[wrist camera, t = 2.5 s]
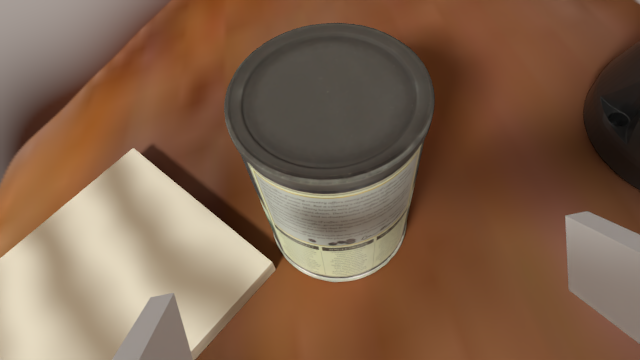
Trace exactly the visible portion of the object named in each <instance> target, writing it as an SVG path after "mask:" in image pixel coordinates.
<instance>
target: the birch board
mask: <svg viewBox="0 0 640 360" xmlns="http://www.w3.org/2000/svg"><path fill="white" fill-rule="evenodd" d="M275 270H276V269H275V267H274V265H273V263H272V262H271V261H270V260H269V259H268V258H267V257H265V256H264V255H263V254H262V253H260V252H259V251H258V250H257V249H256V248H254V247H253V246H252V245H251V244H249V243H248V242H247V241H246V240H245V239H243V238H242V237H241V236H240V235H239V234H237V233H236V232H235V231H234V230H232V229H231V228H230V227H229V226H228V225H226V224H225V223H224V222H223V221H221V220H220V219H219V218H218V217H217V216H215V215H214V214H213V213H212V212H211V211H209V210H208V209H207V208H206V207H204V206H203V205H202V204H201V203H200V202H198V201H197V200H196V199H195V198H193V197H192V196H191V195H190V194H189V193H187V192H186V191H185V190H184V189H182V188H181V187H180V186H179V185H178V184H176V183H175V182H174V181H173V180H172V179H170V178H169V177H168V176H167V175H165V174H164V173H163V172H162V171H161V170H159V169H158V168H157V167H156V166H154V165H153V164H152V163H151V162H150V161H148V160H147V159H146V158H145V157H144V156H142V155H141V154H140V153H139V152H137V151H136V150H135V149H134V148H133V149H131V150H130V151H129V152H128V153H127V154H125V155H124V156H123V157H122V158H121V159H119V160H118V161H117V162H116V163H115V164H113V165H112V166H111V167H110V168H109V169H107V170H106V171H105V172H104V173H103V174H101V175H100V176H99V177H98V178H97V179H95V180H94V181H93V182H92V183H90V184H89V185H88V186H87V187H86V188H84V189H83V190H82V191H81V192H80V193H78V194H77V195H76V196H75V197H74V198H72V199H71V200H70V201H69V202H68V203H66V204H65V205H64V206H63V207H62V208H60V209H59V210H58V211H57V212H56V213H54V214H53V215H52V216H51V217H50V218H48V219H47V220H46V221H45V222H44V223H42V224H41V225H40V226H39V227H38V228H36V229H35V230H34V231H33V232H32V233H30V234H29V235H28V236H27V237H26V238H24V239H23V240H22V241H21V242H19V243H18V244H17V245H16V246H15V247H13V248H12V249H11V250H10V251H9V252H7V253H6V254H5V255H4V256H3V257H1V258H0V360H112V359H113V357H114V356H115V354H116V352H117V351H118V349H119V348H120V346H121V344H122V343H123V341H124V339H125V338H126V336H127V335H128V333H129V331H130V330H131V328H132V326H133V325H134V323H135V322H136V320H137V318H138V317H139V315H140V314H141V312H142V310H143V309H144V307H145V305H146V304H147V302H148V301H149V299H150V297H155V296H160V295H165V294H170V293H174V295H175V298H176V302H177V305H178V309H179V312H180V316H181V319H182V323H183V326H184V330H185V333H186V337H187V340H188V344H189V347H190V351H191V354H192V358H193V360H195V359H196V358H197V357H198V356H199V355H200V353H201V352H202V351H203V350H204V349H205V348H206V347H207V346H208V345H209V343H210V342H211V341H212V340H213V339H214V338H215V337H216V336H217V334H218V333H219V332H220V331H221V330H222V329H223V328H224V327H225V326H226V324H227V323H228V322H229V321H230V320H231V319H232V318H233V317H234V316H235V314H236V313H237V312H238V311H239V310H240V309H241V308H242V307H243V306H244V304H245V303H246V302H247V301H248V300H249V299H250V298H251V297H252V295H253V294H254V293H255V292H256V291H257V290H258V289H259V288H260V287H261V285H262V284H263V283H264V282H265V281H266V280H267V279H268V278H269V277H270V275H271V274H272V273H273V272H274V271H275Z"/></svg>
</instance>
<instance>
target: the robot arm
mask: <svg viewBox="0 0 640 360" xmlns="http://www.w3.org/2000/svg"><path fill="white" fill-rule="evenodd" d="M584 123H585V127H586V131H587V134H588V136H589V138H590V140H591V142H592V144H593V146H594V148H595V149H596V151H597V152H598V153H599V155H600V156H601V157H602V159H603V160H604V161H605V162H606V163H607V164H608V165H609V166H610V167H611V168H612V169H613V170H614V171H615V172H616V173H617V174H618V175H619V176H621V177H622V178H623V179H624V180H626V181H627V182H628V183H630V184H631V185H633V186H634V187H636V188H637V189H639V190H640V41H638V42H637V43H636V44H634V45H633V46H631V47H630V48H629V49H627V50H626V51H625V52H623V53H622V54H621V55H619V56H618V57H616V58H615V59H614V60H613V61H612V62H611V63H610V64H609V65H608V66H607V67H606V68H605V69H604V70H603V71H602V73H601V74H600V75H599V77H598V78H597V80H596V81H595V83H594V84H593V86H592V87H591V89H590V91H589V93H588V95H587V97H586V100H585V104H584ZM565 219H566V241H567V262H568V284H569V290H570V291H571V292H572V293H574V294H575V295H576V296H578V297H579V298H580V299H581V300H583V301H584V302H585V303H587V304H588V305H589V306H591V307H592V308H593V309H595V310H596V311H597V312H599V313H600V314H601V315H603V316H604V317H605V318H606V319H608V320H609V321H610V322H612V323H613V324H614V325H616V326H617V327H618V328H620V329H621V330H622V331H624V332H625V333H626V334H627V335H629V336H630V337H631V338H633V339H634V340H635V341H637V342H638V343H639V344H640V235H639V234H637V233H635V232H633V231H630V230H628V229H626V228H624V227H622V226H619V225H617V224H615V223H613V222H610V221H608V220H606V219H604V218H602V217H599V216H597V215H595V214H593V213H591V212H588V211H586V212H581V213H576V214H571V215H566V216H565ZM112 360H193V358H192V354H191V351H190V347H189V344H188V340H187V337H186V333H185V330H184V326H183V323H182V319H181V316H180V312H179V309H178V305H177V302H176V298H175V295H174V293H170V294H165V295H160V296H155V297H150V299H149V301H148V302H147V304H146V305H145V307H144V309H143V310H142V312H141V314H140V315H139V317H138V318H137V320H136V322H135V323H134V325H133V326H132V328H131V330H130V331H129V333H128V335H127V336H126V338H125V339H124V341H123V343H122V344H121V346H120V348H119V349H118V351H117V352H116V354H115V356H114V357H113V359H112Z"/></svg>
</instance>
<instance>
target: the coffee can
mask: <svg viewBox="0 0 640 360" xmlns="http://www.w3.org/2000/svg"><path fill="white" fill-rule="evenodd" d="M224 112H225V121H226V125H227V128H228V131H229V134H230V137H231V139H232V141H233V143H234V145H235V146H236V148H237V150H238V151H239V153H240V154H241V156H242V159H243V161H244V163H245V166H246V168H247V171H248V173H249V175H250V178H251V180H252V183H253V185H254V187H255V190H256V192H257V194H258V196H259V199H260V201H261V204H262V206H263V208H264V211H265V213H266V216H267V218H268V221H269V223H270V226H271V228H272V230H273V233H274V237H275V240H276V243H277V245H278V247H279V249H280V251H281V252H282V254H283V255H284V257H285V258H286V259H287V260H288V261H289V262H290V263H291V264H292V265H293V266H294V267H296V268H297V269H298V270H300V271H301V272H303V273H305V274H307V275H309V276H311V277H314V278H317V279H321V280H325V281H330V282H343V281H352V280H357V279H360V278H363V277H366V276H368V275H370V274H372V273H374V272H376V271H377V270H379V269H380V268H382V267H383V266H385V265H386V264H387V263H388V262H389V261H390V259H391V258H392V257H393V256H394V255H395V254H396V252H397V251H398V249H399V247H400V246H401V243H402V241H403V238H404V235H405V231H406V224H407V217H408V213H409V208H410V203H411V199H412V194H413V190H414V186H415V181H416V176H417V172H418V167H419V162H420V157H421V153H422V148H423V144H424V139H425V137H426V135H427V133H428V130H429V127H430V124H431V121H432V116H433V112H434V88H433V85H432V81H431V78H430V75H429V73H428V71H427V69H426V67H425V66H424V64H423V62H422V61H421V60H420V58H419V57H418V56H417V55H416V54H415V53H414V52H413V51H412V50H411V49H410V48H409V47H408V46H406V45H405V44H404V43H402V42H400V41H399V40H397V39H396V38H394V37H392V36H390V35H388V34H386V33H384V32H382V31H379V30H376V29H374V28H370V27H366V26H362V25H355V24H345V23H326V24H316V25H309V26H304V27H301V28H297V29H294V30H291V31H288V32H285V33H283V34H281V35H279V36H277V37H275V38H273V39H271V40H269V41H268V42H266V43H264V44H263V45H262V46H260V47H259V48H257V49H256V50H255V51H253V52H252V53H251V54H250V55H249V56H248V57H247V58H246V59H245V60H244V61H243V62H242V64H241V65H240V66H239V68H238V69H237V70H236V72H235V74H234V76H233V78H232V80H231V81H230V84H229V86H228V88H227V92H226V97H225V106H224Z"/></svg>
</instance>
